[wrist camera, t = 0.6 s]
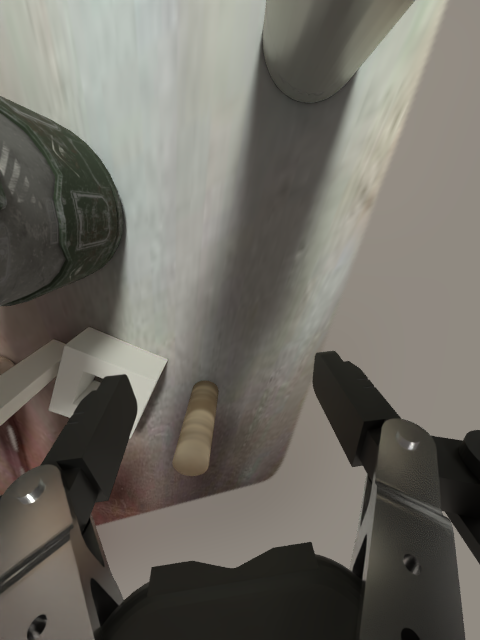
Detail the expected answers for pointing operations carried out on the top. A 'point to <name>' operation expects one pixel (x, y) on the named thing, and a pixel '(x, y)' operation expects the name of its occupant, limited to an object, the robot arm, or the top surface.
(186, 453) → the peg
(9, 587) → the robot arm
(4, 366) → the beer glass
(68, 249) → the canister
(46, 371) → the kiosk
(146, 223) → the top surface
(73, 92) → the top surface
